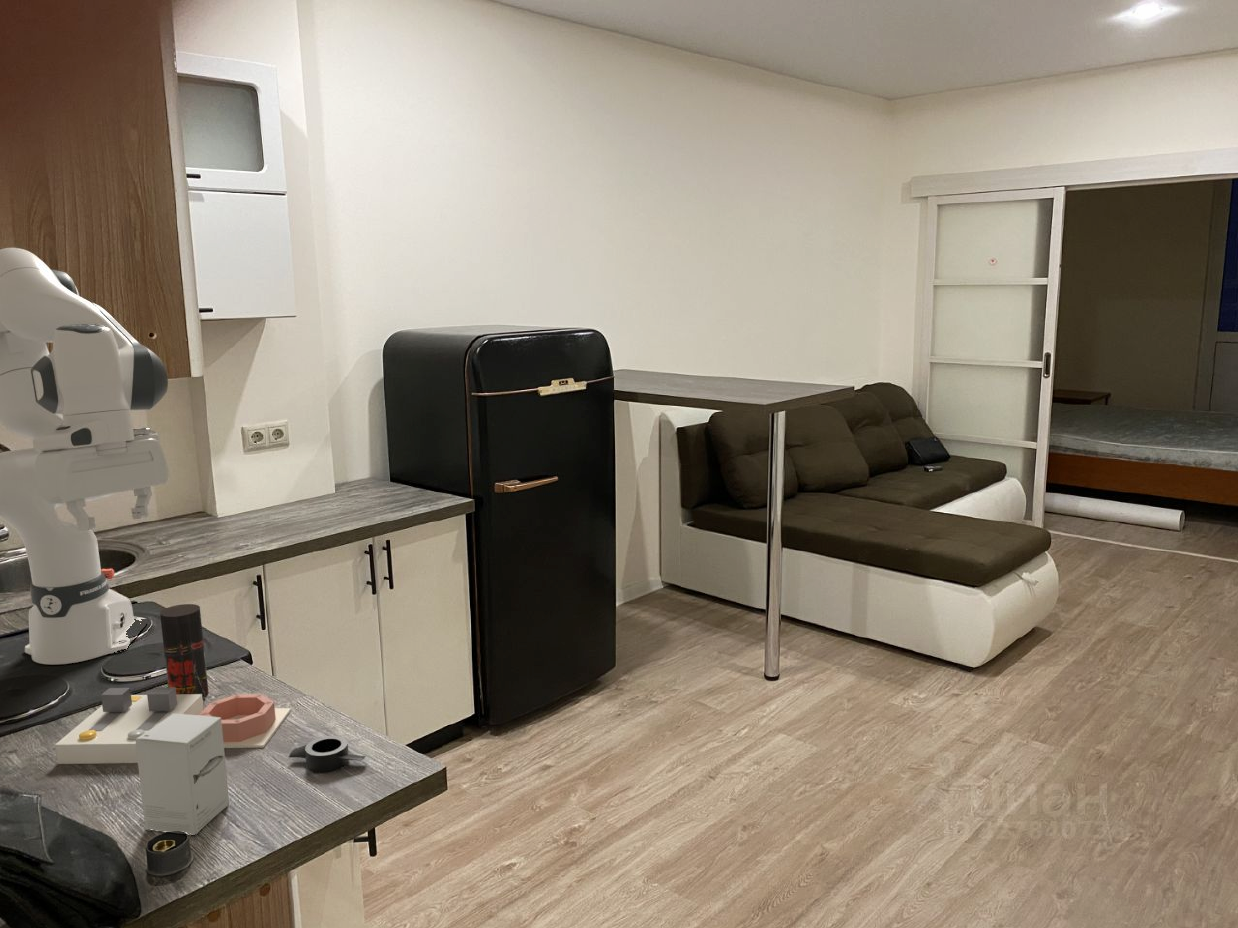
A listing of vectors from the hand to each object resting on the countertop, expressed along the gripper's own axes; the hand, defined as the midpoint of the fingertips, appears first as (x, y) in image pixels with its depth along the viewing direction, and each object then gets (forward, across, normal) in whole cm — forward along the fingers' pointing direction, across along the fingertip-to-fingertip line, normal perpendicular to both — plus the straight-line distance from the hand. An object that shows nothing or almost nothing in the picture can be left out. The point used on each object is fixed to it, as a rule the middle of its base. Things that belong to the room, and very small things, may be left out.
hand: (114, 524), depth 138 cm
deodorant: (+31, -12, -4) cm, 34 cm away
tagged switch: (+28, +1, -5) cm, 29 cm away
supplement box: (+37, +16, +23) cm, 46 cm away
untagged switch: (+29, -2, +2) cm, 29 cm away
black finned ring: (+37, -1, +31) cm, 49 cm away
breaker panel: (+32, +2, -1) cm, 32 cm away
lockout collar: (+34, -5, +12) cm, 36 cm away
